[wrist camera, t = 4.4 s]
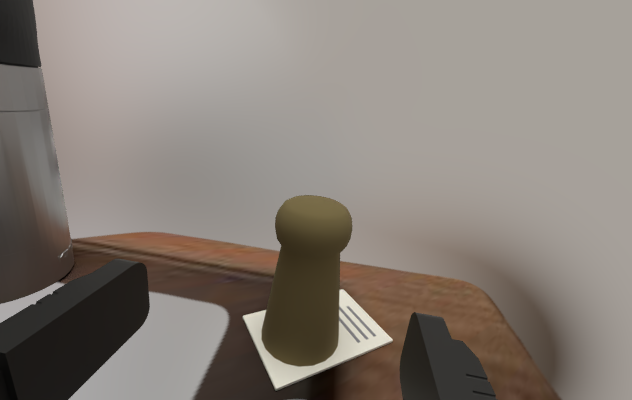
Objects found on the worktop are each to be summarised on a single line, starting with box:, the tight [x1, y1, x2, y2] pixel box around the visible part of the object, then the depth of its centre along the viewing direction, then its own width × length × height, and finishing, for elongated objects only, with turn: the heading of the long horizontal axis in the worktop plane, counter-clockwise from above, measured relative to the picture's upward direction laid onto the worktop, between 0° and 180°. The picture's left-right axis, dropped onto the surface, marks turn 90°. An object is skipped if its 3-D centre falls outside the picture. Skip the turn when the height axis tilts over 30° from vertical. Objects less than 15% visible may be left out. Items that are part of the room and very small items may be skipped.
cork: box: [261, 195, 352, 367], centre depth 21 cm, size 6×6×11 cm
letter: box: [243, 289, 393, 391], centre depth 24 cm, size 10×7×1 cm
